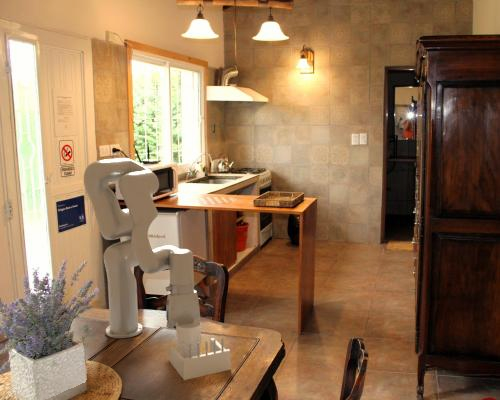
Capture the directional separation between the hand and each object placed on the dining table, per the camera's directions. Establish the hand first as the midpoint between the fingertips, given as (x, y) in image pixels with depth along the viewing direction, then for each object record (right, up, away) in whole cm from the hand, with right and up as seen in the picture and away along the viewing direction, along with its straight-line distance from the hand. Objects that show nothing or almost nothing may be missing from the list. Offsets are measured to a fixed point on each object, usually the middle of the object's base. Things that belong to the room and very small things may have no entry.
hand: (183, 342), depth 175 cm
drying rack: (+6, -4, -12) cm, 14 cm away
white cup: (+2, -3, -4) cm, 6 cm away
